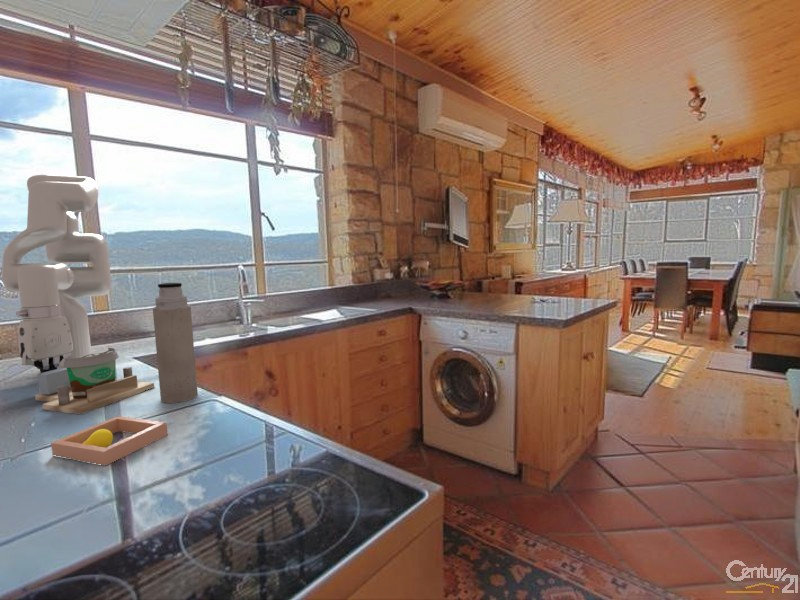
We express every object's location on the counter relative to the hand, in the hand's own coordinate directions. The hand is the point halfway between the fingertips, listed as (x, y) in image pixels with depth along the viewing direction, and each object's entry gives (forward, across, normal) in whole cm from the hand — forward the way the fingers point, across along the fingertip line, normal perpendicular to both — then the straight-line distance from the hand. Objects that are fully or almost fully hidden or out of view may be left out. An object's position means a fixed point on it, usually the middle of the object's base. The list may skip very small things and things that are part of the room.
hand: (50, 382), depth 109 cm
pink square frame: (+3, -19, -46) cm, 50 cm away
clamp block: (+1, 0, -6) cm, 6 cm away
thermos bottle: (+3, +5, -37) cm, 38 cm away
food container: (+1, 0, -18) cm, 18 cm away
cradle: (+2, 0, -14) cm, 14 cm away
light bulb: (+3, -21, -45) cm, 49 cm away
